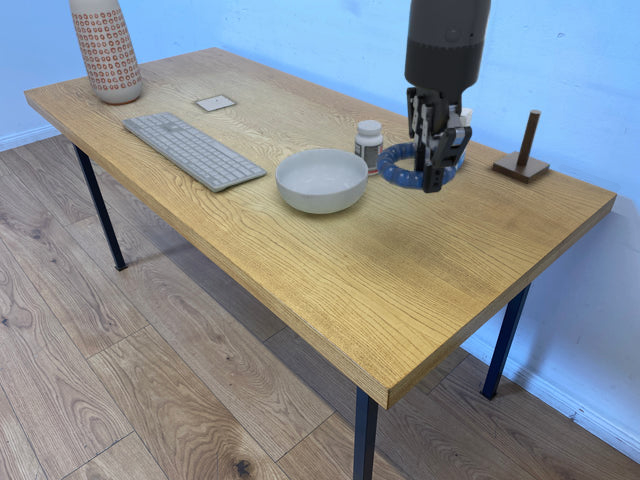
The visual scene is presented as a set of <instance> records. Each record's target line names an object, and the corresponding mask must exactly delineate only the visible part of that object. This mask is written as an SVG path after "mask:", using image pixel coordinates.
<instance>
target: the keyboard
mask: <svg viewBox="0 0 640 480" xmlns="http://www.w3.org/2000/svg"><path fill="white" fill-rule="evenodd" d="M121 123H122V124H123V125H124V128H125V129H126V130H128V131H129V132H130V133H132V134H133V135H134V136H136V137H137V138H139V139H140V140H141V141H142V142H144V143H145V144H146V145H148V146H149V147H151V148H152V149H153V150H155V151H156V152H157V153H158V154H160V155H162V156H163V157H165V158H166V159H167V160H169V161H170V162H171V163H173V164H174V165H175V166H177V167H178V168H179V169H181V170H182V171H183V172H185V173H187V174H188V175H189V176H191V177H192V178H194V179H195V180H196V181H198V183H200V184H201V185H203V186H205V187H206V188H207V189H209V190H210V191H211V192H213V193H217V192H220V191H224V190H225V189H226V188H228V187H230V186H234V185H237V184H240V183H243V182H247V181H251V180H253V179H256V178H259V177H262V176H265V175H266V174H267V173H268V172H267V170H266V169H264V168H263V167H262V166H260V165H258V164H256V163H255V162H253V161H252V160H250V159H248V158H247V157H245V156H244V155H242V154H240V153H238V152H237V151H235V150H233V149H232V148H231V147H229V146H227V145H226V144H224V143H222V142H220V141H218V140H217V139H215V138H213V137H211V136H210V135H209V134H207V133H205V132H203V131H202V130H200V129H198V128H197V127H194V126H193V125H191V124H190V123H188V122H187V121H185V120H183V119H182V118H179V117H177V116H176V115H174V114H173V113H171V112H169V111H163V112H158V113H152V114H147V115H141V116H137V117H131V118H125V119H121Z"/></svg>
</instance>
